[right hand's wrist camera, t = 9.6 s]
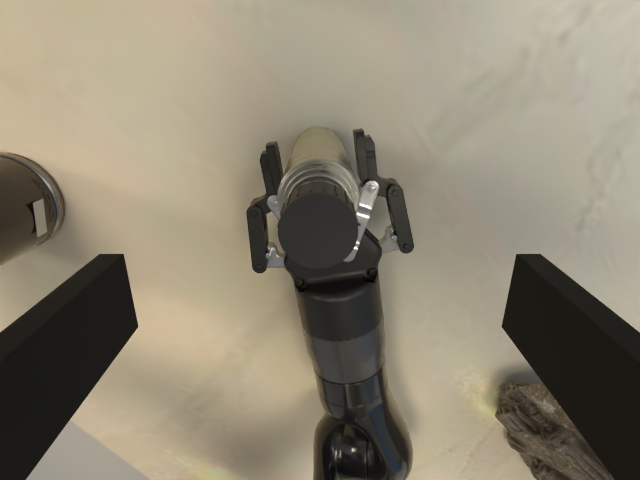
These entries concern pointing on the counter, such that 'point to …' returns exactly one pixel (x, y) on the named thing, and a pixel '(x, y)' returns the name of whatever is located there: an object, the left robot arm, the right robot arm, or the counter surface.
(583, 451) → the fossil
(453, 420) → the counter surface
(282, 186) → the bottle
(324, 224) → the cap
